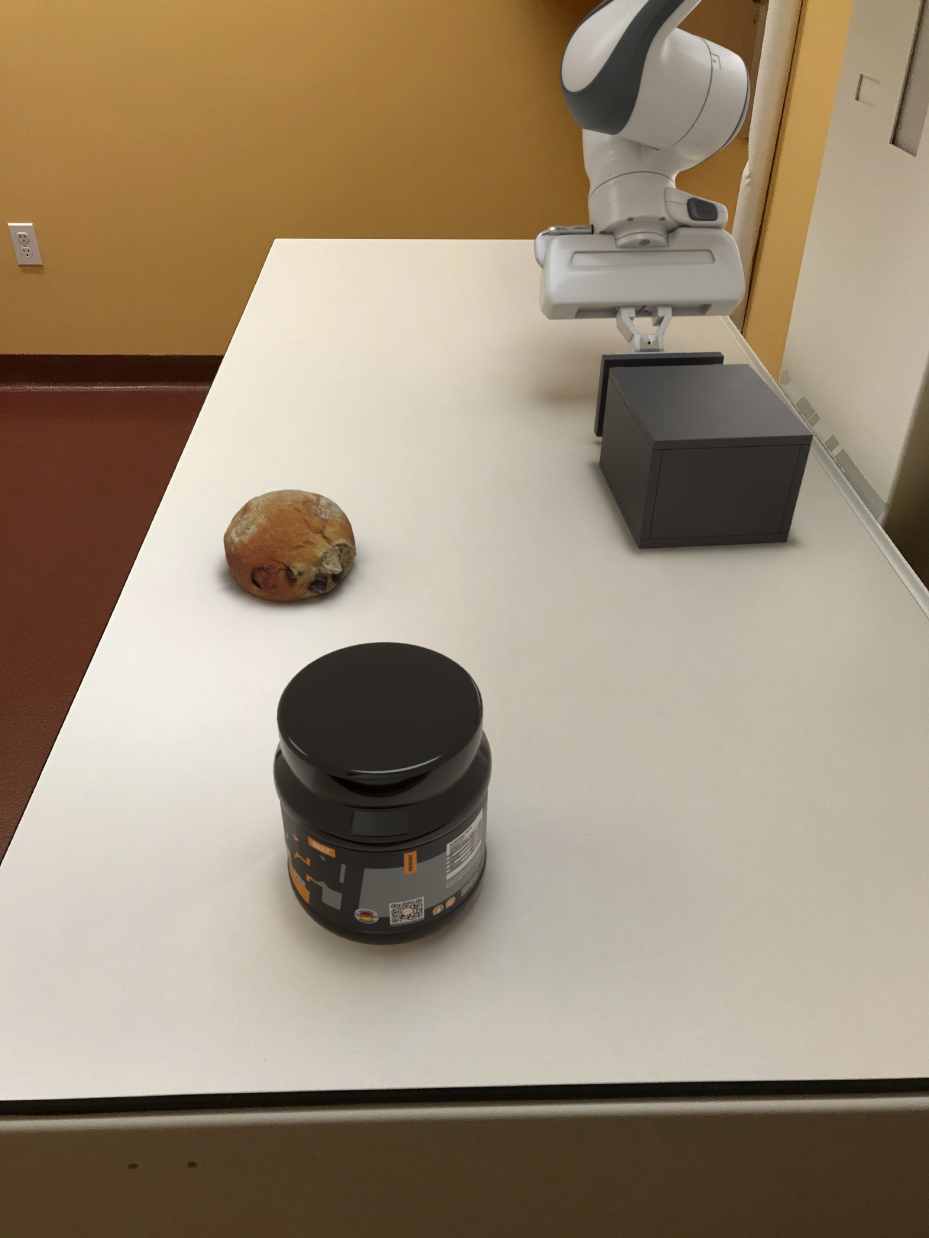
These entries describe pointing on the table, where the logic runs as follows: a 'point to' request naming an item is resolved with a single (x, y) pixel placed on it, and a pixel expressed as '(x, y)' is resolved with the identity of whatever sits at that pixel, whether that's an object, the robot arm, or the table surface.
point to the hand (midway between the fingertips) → (647, 355)
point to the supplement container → (383, 791)
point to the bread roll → (289, 545)
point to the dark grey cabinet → (701, 455)
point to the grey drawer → (645, 361)
